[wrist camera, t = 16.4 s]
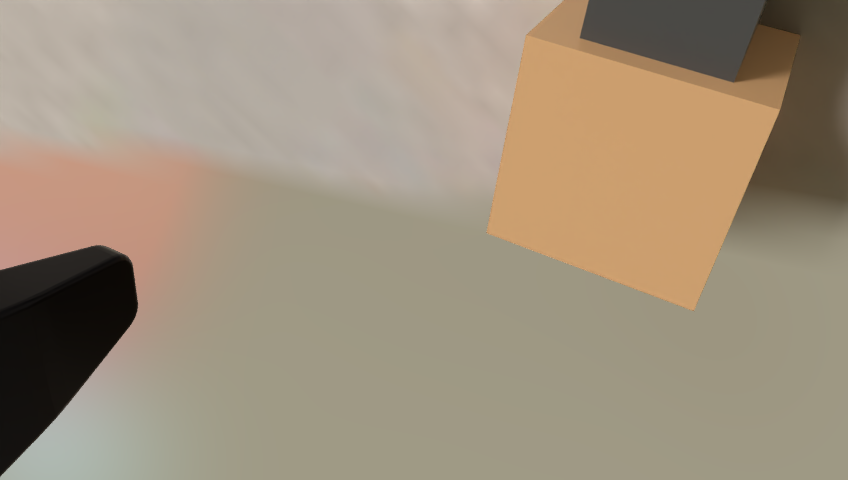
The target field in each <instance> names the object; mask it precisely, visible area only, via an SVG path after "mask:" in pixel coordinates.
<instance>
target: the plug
mask: <svg viewBox="0 0 848 480" xmlns="http://www.w3.org/2000/svg"><path fill="white" fill-rule="evenodd" d="M766 2H767V0H564V1H563V2H562V3H561V4H559V5H558V6H557V7H556V8H555V9H554V10H553V11H552V12H551V13H550V14H549V15H548V16H546V17H545V18H544V19H543V20H542V21H541V22H540V23H539V24H538V25H537V26H536V27H534V28H533V29H532V30H531V31H530V32H529V33H528V34H527V35H526V38H525V43H524V48H523V53H522V58H521V63H520V68H519V73H518V78H517V83H516V88H515V93H514V98H513V103H512V108H511V113H510V118H509V123H508V128H507V133H506V138H505V143H504V148H503V153H502V158H501V163H500V168H499V173H498V178H497V183H496V188H495V193H494V198H493V203H492V208H491V213H490V218H489V223H488V228H487V233H488V234H490V235H493V236H496V237H498V238H501V239H504V240H506V241H509V242H512V243H514V244H517V245H520V246H522V247H525V248H527V249H530V250H533V251H535V252H538V253H541V254H543V255H546V256H549V257H551V258H554V259H557V260H560V261H562V262H565V263H567V264H570V265H573V266H575V267H578V268H581V269H583V270H586V271H589V272H591V273H594V274H597V275H599V276H602V277H605V278H607V279H610V280H613V281H615V282H618V283H620V284H623V285H626V286H629V287H631V288H633V289H636V290H639V291H641V292H644V293H647V294H649V295H652V296H655V297H658V298H660V299H663V300H665V301H668V302H671V303H673V304H676V305H679V306H681V307H684V308H687V309H689V310H692V311H694V309H695V307H696V305H697V302H698V300H699V298H700V295H701V293H702V291H703V289H704V286H705V284H706V282H707V279H708V277H709V275H710V272H711V270H712V267H713V265H714V262H715V260H716V258H717V256H718V253H719V251H720V249H721V247H722V244H723V242H724V240H725V237H726V235H727V233H728V230H729V228H730V226H731V223H732V221H733V219H734V216H735V214H736V212H737V209H738V207H739V205H740V202H741V200H742V198H743V195H744V193H745V191H746V188H747V186H748V184H749V181H750V179H751V177H752V174H753V172H754V170H755V167H756V165H757V163H758V160H759V158H760V156H761V153H762V151H763V149H764V146H765V144H766V142H767V139H768V137H769V135H770V132H771V130H772V128H773V125H774V123H775V121H776V118H777V116H778V114H779V111H780V109H781V105H782V102H783V98H784V94H785V91H786V87H787V83H788V80H789V76H790V73H791V69H792V65H793V62H794V58H795V54H796V51H797V47H798V44H799V40H800V36H801V35H798V34H794V33H791V32H787V31H783V30H779V29H775V28H772V27H768V26H764V25H760V24H758V23H759V21H760V18H761V16H762V13H763V10H764V8H765V5H766Z"/></svg>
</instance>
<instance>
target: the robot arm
mask: <svg viewBox="0 0 848 480" xmlns="http://www.w3.org/2000/svg"><path fill="white" fill-rule="evenodd" d="M137 309H138V300H137V293H136V286H135V278H134V272H133V265H132V262H131V260H130V259H129V257H128V256H126V255H124V254H122V253H120V252H118V251H115V250H113V249H111V248H109V247H106V246H101V245H96V246H91V247H88V248H84V249H80V250H76V251H72V252H68V253H64V254H60V255H57V256H53V257H49V258H45V259H41V260H37V261H34V262H30V263H26V264H22V265H18V266H14V267H11V268H6V269H3V270H0V476H1V475H2V474H3V473H4V472H5V471H6V470H7V469H8V468H9V467H10V466H11V465H12V464H13V463H14V462H15V461H16V460H17V459H18V458H19V457H20V456H21V455H22V454H23V452H24V451H25V450H26V449H27V448H28V447H29V446H30V445H31V444H32V443H33V442H34V441H35V440H36V439H37V438H38V437H39V436H40V435H41V434H42V433H43V432H44V431H45V429H47V427H48V426H49V425H50V424H51V423H52V422H53V421H54V420H55V419H56V418H57V416H58V415H59V414H60V413H61V412H62V411H63V409H64V408H65V407H66V406H67V405H68V403H69V402H70V401H71V400H72V398H73V397H74V396H75V395H76V393H77V392H78V391H79V390H80V388H81V387H82V386H83V385H84V383H85V382H86V381H87V380H88V378H89V377H90V376H91V374H92V373H93V372H94V371H95V369H96V368H97V367H98V366H99V364H100V363H101V362H102V361H103V359H104V358H105V357H106V356H107V354H108V353H109V351H111V349H112V348H113V347H114V345H115V344H116V343H117V342H118V340H119V339H120V338H121V337H122V335H123V334H124V333H125V332H126V330H127V329H128V328H129V327H130V325H131V324H132V322H133V320H134V318H135V316H136V313H137Z"/></svg>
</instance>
